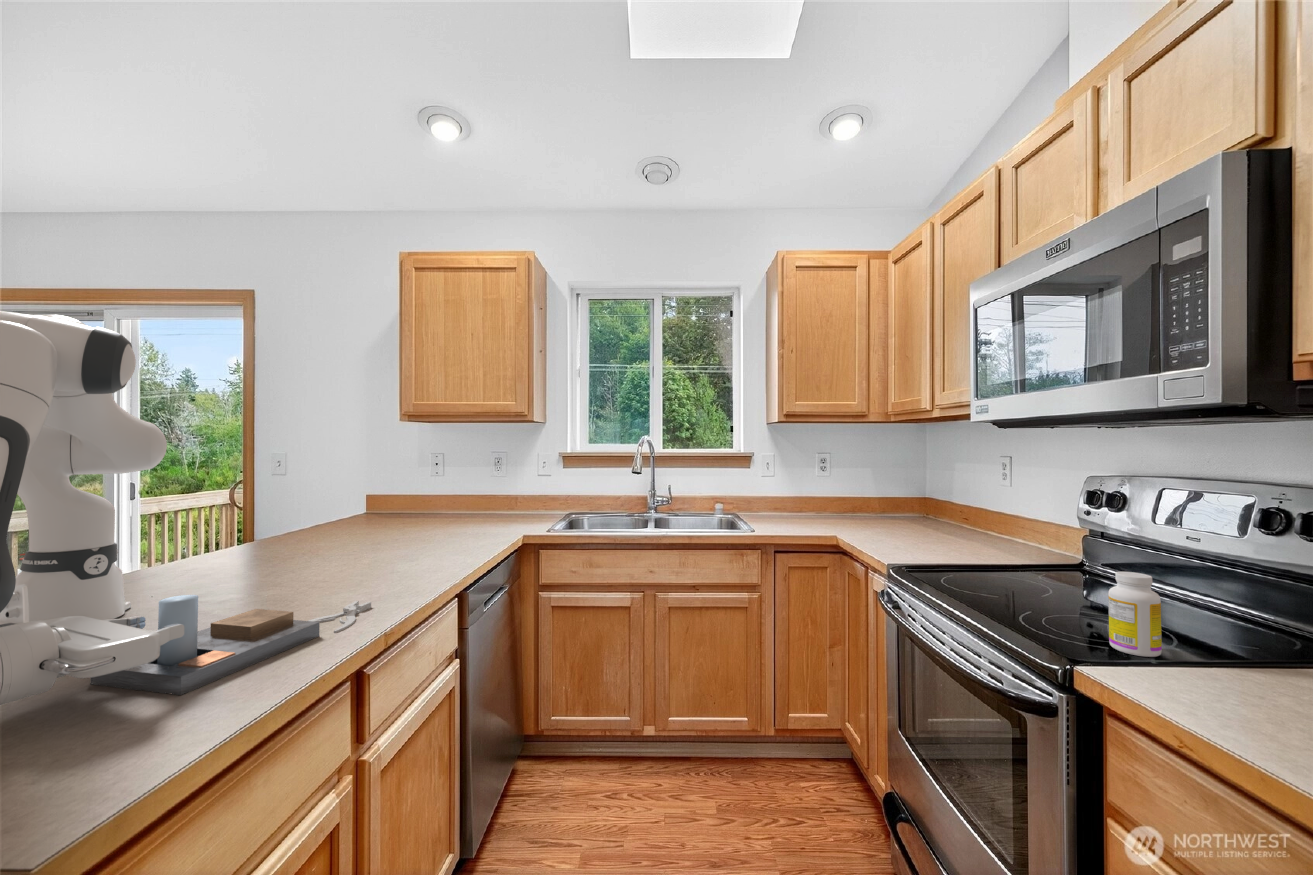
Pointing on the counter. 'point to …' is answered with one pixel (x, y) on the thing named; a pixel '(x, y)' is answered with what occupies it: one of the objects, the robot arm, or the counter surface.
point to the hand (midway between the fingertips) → (161, 625)
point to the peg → (187, 615)
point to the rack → (219, 652)
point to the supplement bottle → (1135, 615)
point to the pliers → (348, 611)
